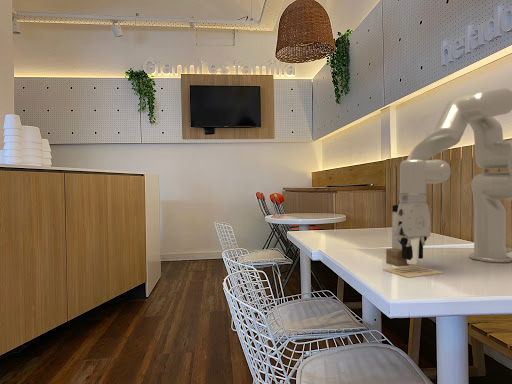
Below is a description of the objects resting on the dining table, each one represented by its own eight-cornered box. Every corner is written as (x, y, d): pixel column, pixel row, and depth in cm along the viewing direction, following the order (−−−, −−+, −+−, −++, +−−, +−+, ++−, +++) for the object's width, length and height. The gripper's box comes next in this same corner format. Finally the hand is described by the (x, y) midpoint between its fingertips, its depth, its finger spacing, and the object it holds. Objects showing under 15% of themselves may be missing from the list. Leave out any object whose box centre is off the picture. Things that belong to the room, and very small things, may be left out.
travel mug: (412, 255, 129) (412, 203, 129) (393, 255, 131) (394, 203, 130) (408, 252, 135) (408, 203, 135) (390, 252, 137) (390, 202, 136)
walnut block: (397, 262, 119) (397, 248, 118) (408, 265, 114) (408, 250, 114) (386, 263, 117) (386, 248, 117) (397, 266, 112) (397, 251, 112)
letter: (415, 266, 112) (415, 265, 112) (442, 273, 102) (442, 272, 102) (382, 270, 106) (382, 269, 106) (408, 277, 97) (408, 276, 97)
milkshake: (399, 261, 107) (398, 230, 107) (416, 261, 107) (416, 230, 107) (405, 265, 102) (404, 232, 102) (423, 264, 102) (422, 232, 102)
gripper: (401, 200, 98) (401, 263, 98) (442, 199, 104) (442, 258, 104) (382, 199, 105) (382, 258, 105) (422, 199, 111) (422, 254, 111)
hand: (412, 257), depth 104 cm, fingers closed on milkshake, 4 cm apart
